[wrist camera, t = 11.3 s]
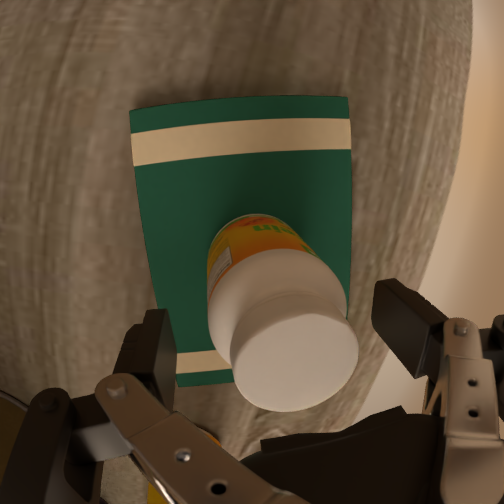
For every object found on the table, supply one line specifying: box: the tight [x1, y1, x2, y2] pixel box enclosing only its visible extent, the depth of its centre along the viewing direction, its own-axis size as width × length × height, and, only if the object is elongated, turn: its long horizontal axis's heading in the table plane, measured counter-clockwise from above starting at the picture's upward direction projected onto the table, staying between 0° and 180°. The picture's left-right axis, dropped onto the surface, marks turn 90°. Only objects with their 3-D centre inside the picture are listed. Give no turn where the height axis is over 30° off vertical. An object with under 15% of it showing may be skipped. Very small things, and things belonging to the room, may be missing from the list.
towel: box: [129, 95, 352, 387], centre depth 19 cm, size 18×12×1 cm, turn 4°
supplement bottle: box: [207, 214, 359, 412], centre depth 14 cm, size 5×5×10 cm
